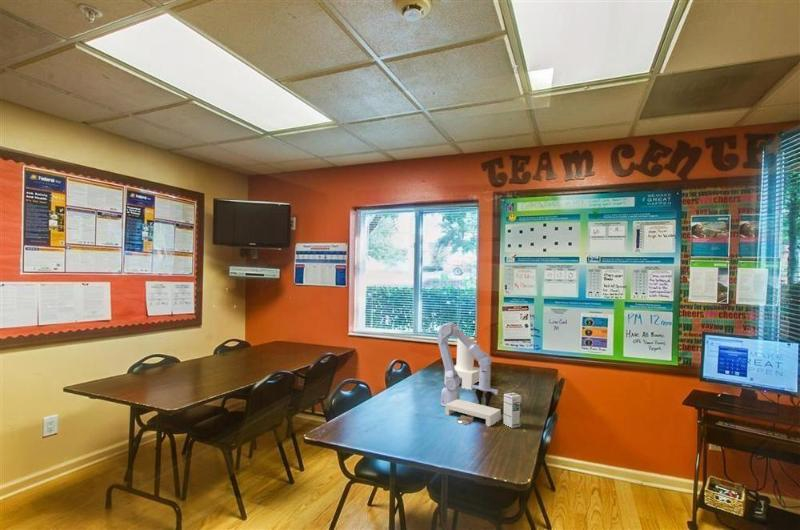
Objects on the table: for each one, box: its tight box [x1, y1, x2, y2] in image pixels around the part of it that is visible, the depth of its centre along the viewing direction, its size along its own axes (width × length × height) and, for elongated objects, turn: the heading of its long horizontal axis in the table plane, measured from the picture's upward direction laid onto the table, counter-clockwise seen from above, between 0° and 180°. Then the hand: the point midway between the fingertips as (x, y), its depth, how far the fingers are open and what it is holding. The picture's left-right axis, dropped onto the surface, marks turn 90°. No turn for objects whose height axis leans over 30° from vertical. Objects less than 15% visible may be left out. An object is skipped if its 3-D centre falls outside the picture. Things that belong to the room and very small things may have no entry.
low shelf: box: [444, 399, 502, 427], centre depth 200 cm, size 24×12×5 cm, turn 52°
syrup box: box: [503, 392, 522, 429], centre depth 191 cm, size 6×6×14 cm
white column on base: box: [444, 335, 480, 391], centre depth 262 cm, size 19×19×30 cm
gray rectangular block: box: [460, 395, 490, 423], centre depth 204 cm, size 22×6×7 cm, turn 142°
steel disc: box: [456, 417, 471, 426], centre depth 193 cm, size 6×6×1 cm
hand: (483, 405), depth 210 cm, fingers closed on gray rectangular block, 3 cm apart
